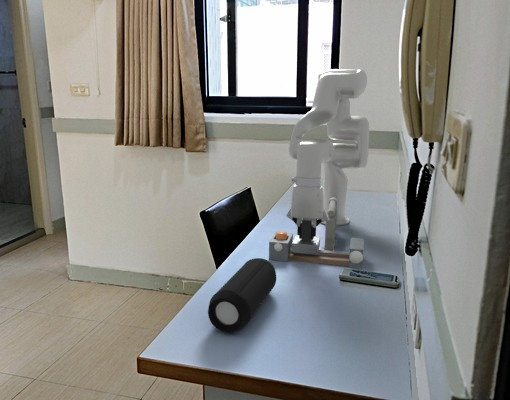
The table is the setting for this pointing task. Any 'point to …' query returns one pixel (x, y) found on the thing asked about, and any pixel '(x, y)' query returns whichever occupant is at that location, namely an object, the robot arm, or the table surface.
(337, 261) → the rail base
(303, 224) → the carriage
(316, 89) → the robot arm
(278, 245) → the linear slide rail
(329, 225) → the geiger counter
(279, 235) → the button
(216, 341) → the table surface
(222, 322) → the portable speaker
